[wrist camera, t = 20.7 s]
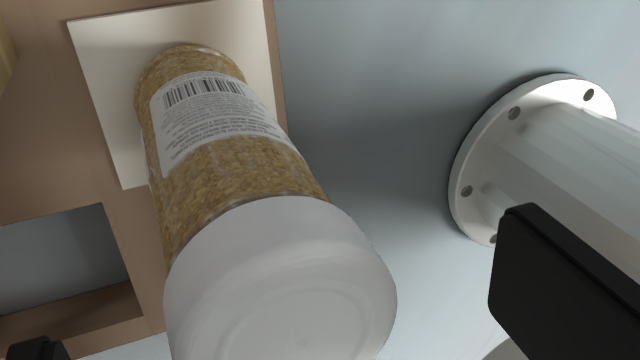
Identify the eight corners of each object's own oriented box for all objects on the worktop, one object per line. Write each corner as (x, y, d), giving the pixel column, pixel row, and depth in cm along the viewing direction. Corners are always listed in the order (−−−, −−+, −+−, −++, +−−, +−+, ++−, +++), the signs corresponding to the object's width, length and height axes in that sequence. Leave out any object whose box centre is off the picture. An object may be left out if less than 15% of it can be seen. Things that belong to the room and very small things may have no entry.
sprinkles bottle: (129, 144, 20) (160, 448, 9) (138, 31, 18) (190, 252, 8) (239, 151, 22) (369, 411, 11) (258, 49, 20) (437, 247, 9)
